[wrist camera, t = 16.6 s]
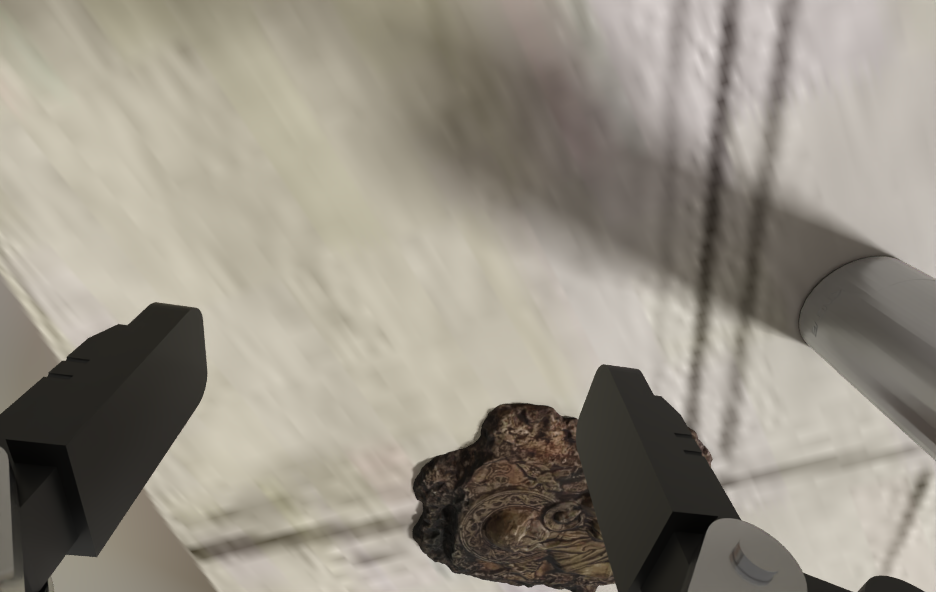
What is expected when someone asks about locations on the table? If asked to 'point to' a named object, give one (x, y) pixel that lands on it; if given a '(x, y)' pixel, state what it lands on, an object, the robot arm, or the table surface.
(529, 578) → the stone relief
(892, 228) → the table surface
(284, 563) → the table surface
